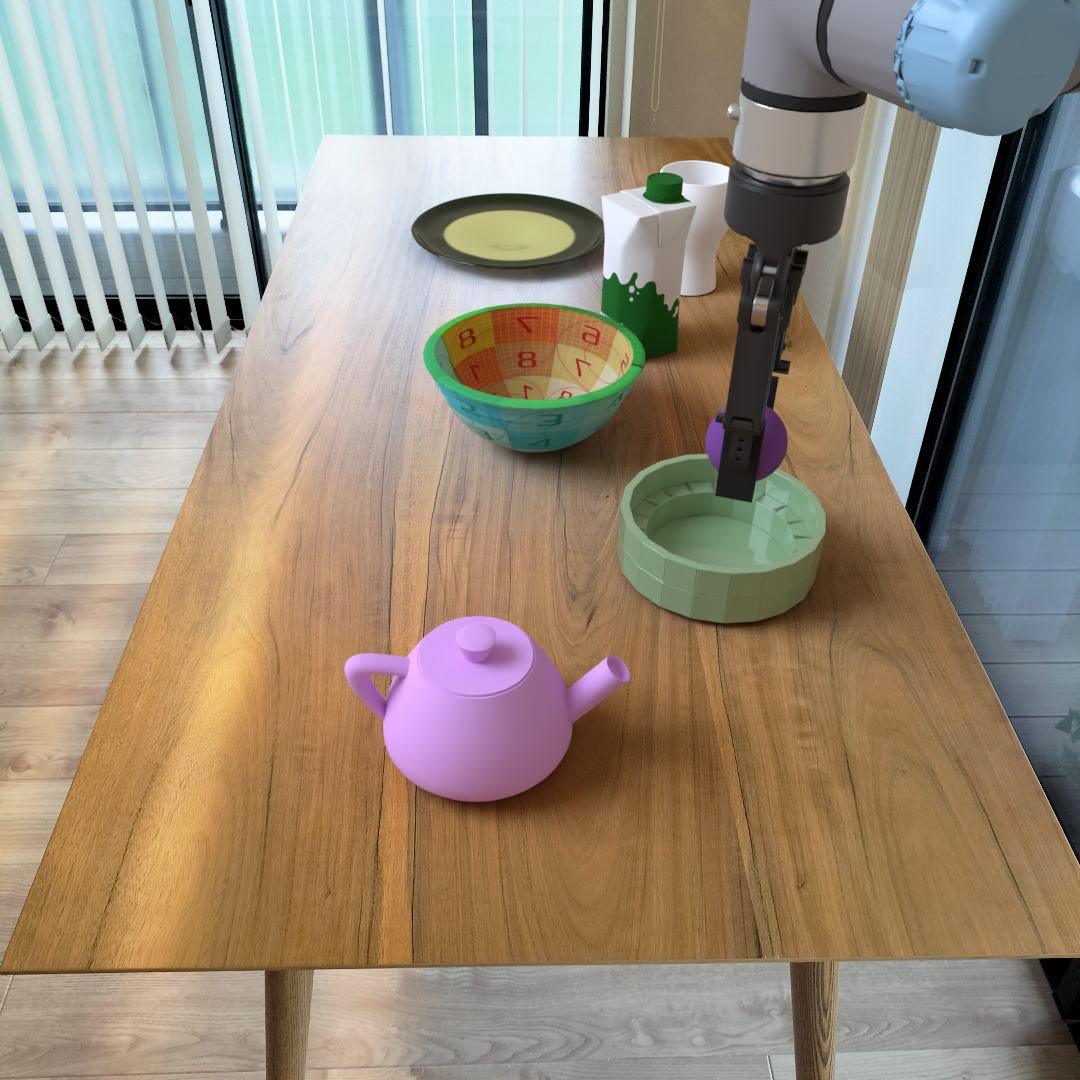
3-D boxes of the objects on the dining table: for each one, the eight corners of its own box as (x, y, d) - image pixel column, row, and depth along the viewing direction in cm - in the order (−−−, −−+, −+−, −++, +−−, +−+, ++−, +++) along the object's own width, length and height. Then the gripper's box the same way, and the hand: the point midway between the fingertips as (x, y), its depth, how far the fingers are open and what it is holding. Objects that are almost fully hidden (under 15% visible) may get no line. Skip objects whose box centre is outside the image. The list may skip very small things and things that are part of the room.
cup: (732, 301, 141) (747, 187, 132) (651, 301, 141) (660, 186, 132) (720, 268, 150) (733, 159, 140) (643, 267, 149) (652, 158, 140)
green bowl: (853, 569, 97) (867, 515, 94) (726, 658, 88) (735, 602, 84) (705, 484, 107) (712, 433, 104) (577, 556, 98) (580, 502, 94)
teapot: (633, 813, 75) (644, 707, 69) (344, 818, 74) (328, 711, 68) (615, 673, 86) (624, 570, 80) (363, 676, 85) (351, 572, 79)
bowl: (387, 460, 110) (380, 373, 104) (488, 366, 126) (486, 286, 120) (588, 518, 103) (593, 428, 97) (668, 410, 119) (676, 327, 113)
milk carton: (688, 352, 130) (706, 187, 118) (626, 369, 126) (638, 201, 114) (646, 323, 136) (659, 163, 124) (585, 339, 132) (593, 176, 120)
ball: (797, 477, 82) (810, 409, 78) (746, 508, 78) (758, 438, 75) (735, 444, 85) (745, 377, 81) (684, 473, 82) (693, 404, 78)
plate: (645, 259, 152) (646, 242, 150) (468, 299, 140) (467, 281, 139) (544, 196, 171) (544, 180, 169) (381, 227, 159) (380, 211, 158)
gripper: (753, 116, 75) (714, 403, 90) (703, 210, 61) (666, 534, 75) (863, 128, 74) (805, 419, 88) (837, 228, 59) (773, 556, 74)
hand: (741, 471), depth 82 cm, fingers closed on ball, 6 cm apart
